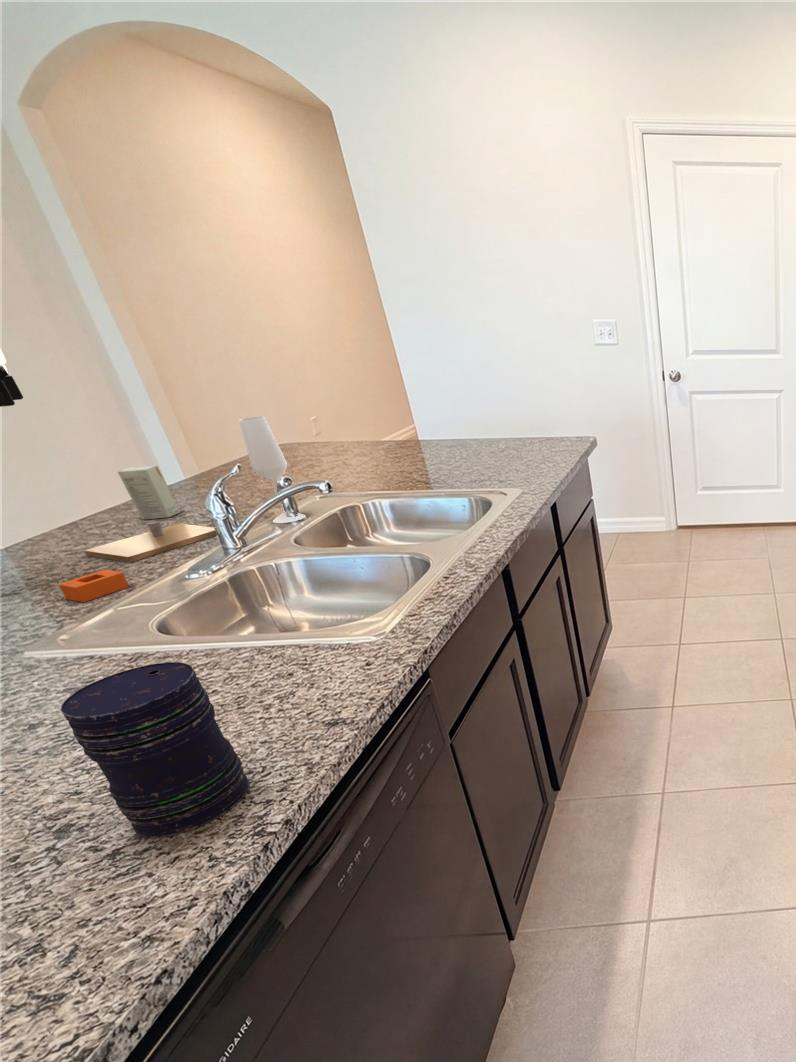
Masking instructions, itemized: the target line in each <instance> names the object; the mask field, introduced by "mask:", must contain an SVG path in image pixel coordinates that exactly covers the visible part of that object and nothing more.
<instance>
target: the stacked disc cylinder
mask: <svg viewBox="0 0 796 1062" xmlns="http://www.w3.org/2000/svg"><path fill="white" fill-rule="evenodd" d="M60 712H61V714H63V717H64V719H65V720H66V721H68V725H69V726H70V728H71V730H72V735H73V737H74V738H75V739H76V741H77V743H78V744H79V746H81V747H82V748H83V753H84V755H85V756H86V757H88V758H89V760H91V761H92V762H95V763H96V764H97V765H98V767H99V769H100V770H101V771H102V773H103V775H104V777H105V778H106V780H107V782H108V783H109V785H108V791H109V793H110V794H111V797H112V800H114V801H115V805H116V806H117V807H118V810H119V812H121V814H122V815H123V816H125V817H126V819H127V820H128V821H129V822H130V823H131V827H132V829H133V830H134V832H135V834H137V835H138V836H142V837H144V838H151V839H152V838H155V839H156V838H165V837H170V836H171V837H172V836H176V835H179V834H182V833H183V834H184V833H186V832H189V831H192V830H194V829H197V828H199V827H202V826H204V825H207V824H209V823H210V822H212V821H215V820H216V819H218V818H219V817H221V816H223V815H224V814H226V813H228V812H229V811H230V810H232V809H233V808H235V806H237V805H238V804H239V803H240V802H241V801H242V799H243V798H244V797H245V796H246V795H247V793H248V791H249V789H250V781H249V779H248V776H247V775H246V774H245V771H244V769H243V766H242V761H241V760H240V757H239V756H238V753H236V751H235V749H234V746H233V745H232V742H231V741H230V740H229V739H228V738H225V736H224V734H223V732H222V731H221V728H220V727H219V724H218V722H217V720H216V717H215V716H216V713H215V707H214V704H213V703H212V702H211V701H210V697H209V695H208V693H207V691H206V688H205V687H204V686H203V685H202V682H201V681H200V679H198V677H197V673H196V671H195V669H194V667H193V666H192V665H191V664H188V663H185V662H179V661H178V662H177V661H176V662H175V661H172V662H171V661H167V662H159V663H152V664H147V665H141V666H137V667H133V668H129V669H127V670H126V669H125V670H123V671H120V672H116V673H114V674H111V675H108V676H106V677H103V678H101V679H98V680H95V681H93V682H91V683H90V684H87V685H86V686H83V687H82V688H80V689H78V690H76V691H75V692H74V693H72V694H71V695H70V696H69V697H66V699H65V700H64V701H63V702H62V704H61V706H60Z"/></svg>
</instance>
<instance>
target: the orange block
mask: <svg viewBox="0 0 796 1062" xmlns="http://www.w3.org/2000/svg"><path fill="white" fill-rule="evenodd" d="M58 587H59V589H60V590H61V592H62V594H63V596H64V597H65V599H66V600H69V601H75V602H80V603H87V602H90V601H93V600H95V599H99V598H102V597H104V596H107V595H110V594H113V593H115V592H119V591H122V590H124V589H126V588H130V584H129V582H128V581H127V579H126V576H125V575H124V572H122V571H116V570H109V569H102V570H99V571H96V572H93V573H90V574H87V575H83V576H80V577H77V578H74V579H71V580H68V581H64V582H62V583H61V582H60V583H58Z"/></svg>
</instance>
